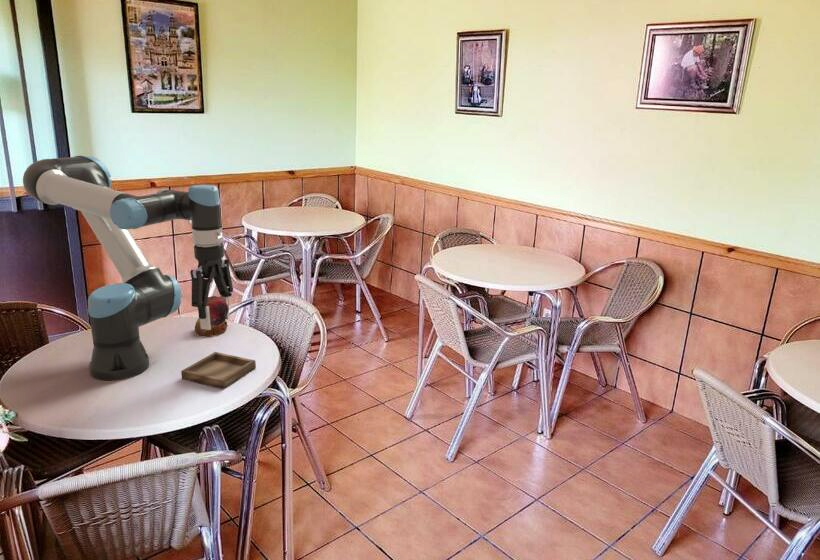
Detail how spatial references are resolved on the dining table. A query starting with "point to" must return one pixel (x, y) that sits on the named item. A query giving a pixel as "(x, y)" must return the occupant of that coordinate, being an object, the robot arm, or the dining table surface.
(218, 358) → the walnut tray
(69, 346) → the dining table surface
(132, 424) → the dining table surface
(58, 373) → the dining table surface
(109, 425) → the dining table surface
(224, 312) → the fruit
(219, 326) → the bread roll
